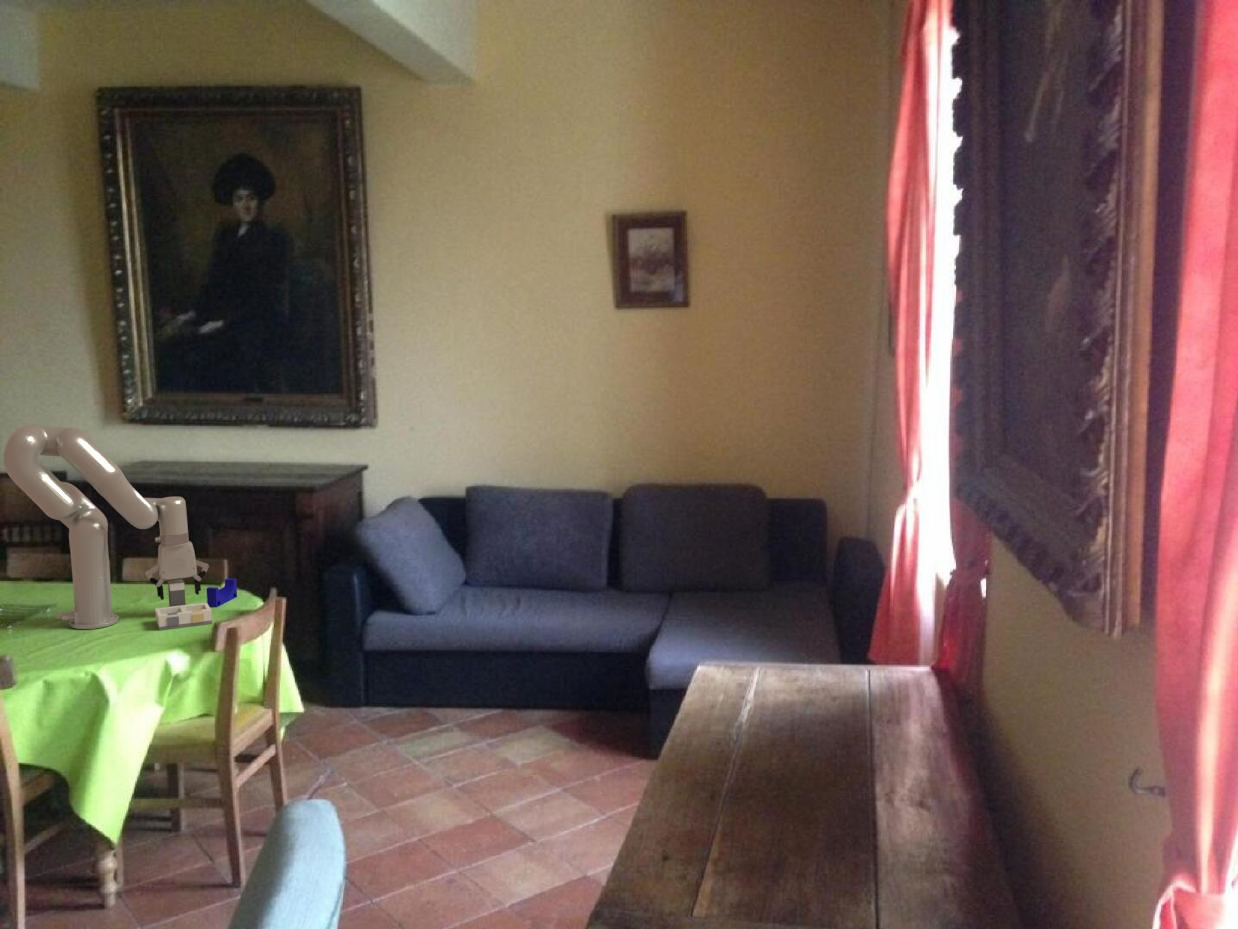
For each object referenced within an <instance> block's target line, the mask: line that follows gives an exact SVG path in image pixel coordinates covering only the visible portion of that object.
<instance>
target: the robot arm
mask: <svg viewBox="0 0 1238 929" xmlns="http://www.w3.org/2000/svg"><path fill="white" fill-rule="evenodd" d="M40 456H46V457H61V458H62V459H63V460H64V461H65V462H66V463H67V464H68V465H69V466H70V467H72V468H73V469H74V471H76V472H77V473H78V474H79V475H80V476H81V477H82V478H83V479H84V480H86V481H87V483H89V484H90V485H91V486H92V487H93V488H94V489H95V490H96V491H97V493H98V494H99V495H100V496H102V498H104V499H105V500H106V502H108V504H109V505H111V507H112V508H114V510H115V511H117V513H118V514H120V515H121V516H122V517H123V518H124V519H125V520H126V521H127V522H128V523H129V524H130V525H131V526H133V527H135V528H136V529H140V530H146V529H150V528H152V527H154V526H155V524H156V523H157V522H159V536H157V537H154V541H155V543H160V544H158V549H157V550H158V551H157V553H158V554H157V564H156V565H154V566H153V567H151V568H150V569H148V570H146V571H145V576H146V577H147V579H148V581H149V582H150V583H152V584H153V585H155V586H156V592H157V594H156V595H157V597H159V598H160V600H161V601H162V600H164V599H165V597H164V586H163V585H162V584H163V583H164V582H165V581H173V580H180V579H186V578H191V577H193V578H194V580H193V581H194V582H193V583H194V584H193V585H194V593H195V594H196V595H197V596H199V595H200V591H202V588H201V587H202V586H201V581H202V579H203V578H204V577H205V576H206V575H207V571H208V570H209V567H210V566H209V564H208V563H206V562H203V561H199V560H197V559H196V554H195V549H194V546H193V543H192V541H191V540H189V528H188V515H187V505H186V504H187V503H186V500H185V499H184V498H183V496H167V497H161V498H156V497H143V495H141V494H140V493H139V492H138V491H137V490H136V488H134V487H133V486H132V484H131V483H130V482H129V481H128V479H127V478H126V476H125V474H124V473H123V471H122V469H121V468H120V467H119V466H118V465H117V464H116V463H115V461H114V460H112V459H111V458H110V457H108V456H107V455H106V454H105V453H104V452H103V451H102V450H101V449H100V448H99V447H98V445H96V444H95V443H94V442H93V441H92V439H91V437H90V435H89V434H88V432H86V431H85V430H83V429H80V428H74V427H60V426H59V427H58V426H48V425H36V424H35V425H34V424H27V425H23V426H21V427H19V428H17V429H16V430H15V431H14V432H13V433H12V434H11V435H10V436H9V439H8V440H7V443H6V445H5V447H4V451H3V457H2V460H3V466H4V469H5V472H6V473H7V474H8V476H9V478H10V479H11V480H12V482H13V483H15V484H16V486H17V487H19V489H21V491H22V492H23V493H25V494H26V495H27V497H29V499H31V500H32V502H34V504H35V505H37V506H38V507H39V509H41V510H42V512H43V513H44V514H45V515H46V516H47V517H49V518H50V519H53V520H56V521H57V520H58V521H60V522H61V523H62V524H63V525H64V526H66V527H67V528H68V529H69V530H68V531H69V532H68V539H69V541H68V542H69V543H68V544H69V551H70V560H71V574H72V587H73V588H72V589H73V603H74V607H73V608H72V610H68V612H57V613H56V618H57V621H61V620H62V621H63V622H64V621H69V627H70V628H72V629H77V630H94V629H95V630H96V629H100V628H101V629H102V628H107V627H109V626H113V625H115V624H116V623H118V622H119V620H120V619H119V615H117V614H115V613H113V604H112V603H113V601H112V588H111V584H112V583H111V570H110V559H109V544H108V531H109V529H108V527H109V524H108V519H107V517H106V516H105V514H104V513H103V512H102V511H101V510H100V509H99V508H98V507H97V506H96V505H95V504H94V503H93V502H92V501H91V500H90V499H89V498H88V497H87V496H86V495H85V494H84V493H83V492H82V491H80V489H79V488H77V487H76V486H75V485H73V483H72V484H71V483H69V482H66V481H61V480H59V479H58V478H57V477H56V476H55V474H54V473H53V472H52V471H51V470H50V469H49V468H48V467H46V466H45V465H44V464H43V463H42V462H41V460H40ZM198 567H201V568H202V569H201V571H200V572H199V573H198V569H197V568H198ZM156 572H158V578H157V579H156V578H155V577H154V576H153V574H154V573H156Z"/></svg>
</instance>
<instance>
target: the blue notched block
mask: <svg viewBox="0 0 1238 929" xmlns="http://www.w3.org/2000/svg"><path fill="white" fill-rule="evenodd" d="M237 585H238V584H237V578H229V577H228V578H225V579H224V585H223V587H221V588H219V587H214V586H208V587H207V588H206V602H207V604H208V605H209V607H210V608H219V607H221V606H223V605H224V604H226V603H228V602H230V601H233V600H234V599H236V598H238V589H237V587H238V586H237Z"/></svg>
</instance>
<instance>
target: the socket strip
mask: <svg viewBox="0 0 1238 929" xmlns="http://www.w3.org/2000/svg"><path fill="white" fill-rule="evenodd" d="M154 611H155V612H154V613H155V616H154V617H155V624H156V626H157V628H158V631H166V630H167V631H168V630H172V629H173V630H174V629H180V628H188V627H189V628H190V627H197V626H204V625H212V624H213V614H212V612H213V611H212V608H211V607H209V605H208V604H207V601H206V602H199V603H192V604H191V603H190V604H186V605H180V606H172V607H169V606H165V607H157V608H154Z"/></svg>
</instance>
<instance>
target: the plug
mask: <svg viewBox="0 0 1238 929" xmlns="http://www.w3.org/2000/svg"><path fill="white" fill-rule="evenodd" d="M167 587H168V588H167V589H168V607H172V606H180V605H187V604H186V588H185V581H184V580H183V579H174V580H167Z"/></svg>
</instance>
